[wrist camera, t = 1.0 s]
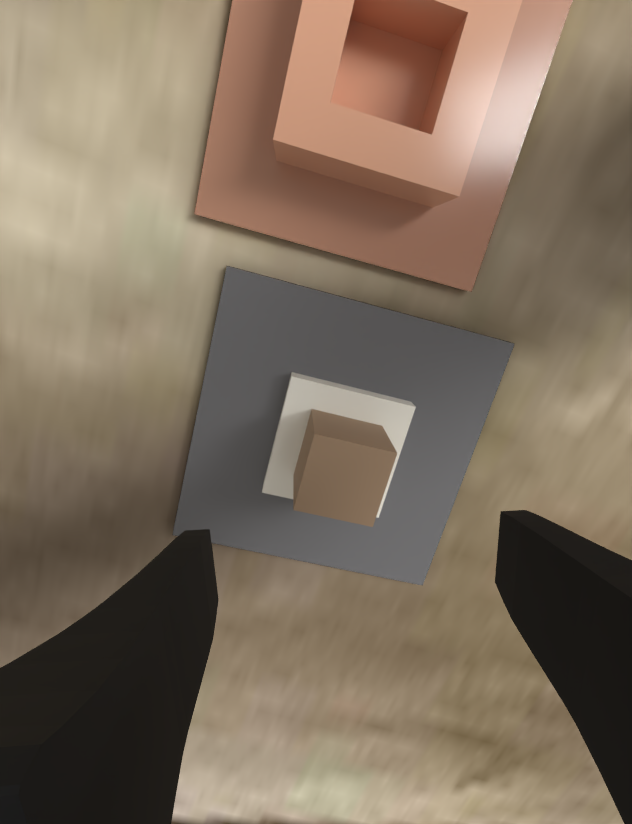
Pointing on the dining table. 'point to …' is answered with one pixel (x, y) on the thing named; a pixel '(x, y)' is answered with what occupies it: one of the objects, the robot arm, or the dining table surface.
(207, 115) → the dining table surface
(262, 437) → the mat
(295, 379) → the lid
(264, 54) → the salmon stepped square block
